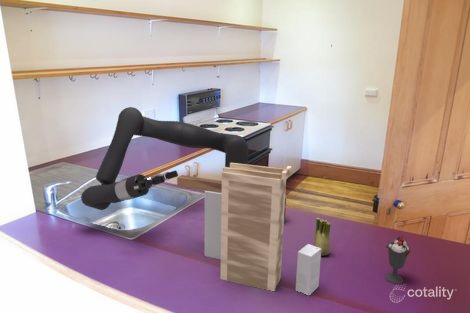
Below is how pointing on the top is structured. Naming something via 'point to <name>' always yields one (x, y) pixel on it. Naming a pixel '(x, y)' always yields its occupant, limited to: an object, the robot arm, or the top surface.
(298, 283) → the skincare box
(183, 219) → the top surface
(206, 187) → the walnut bar
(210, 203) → the grey pedestal
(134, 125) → the robot arm
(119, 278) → the top surface
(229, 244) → the birch shelf
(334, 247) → the top surface
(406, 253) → the sundae
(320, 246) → the fennel bulb
